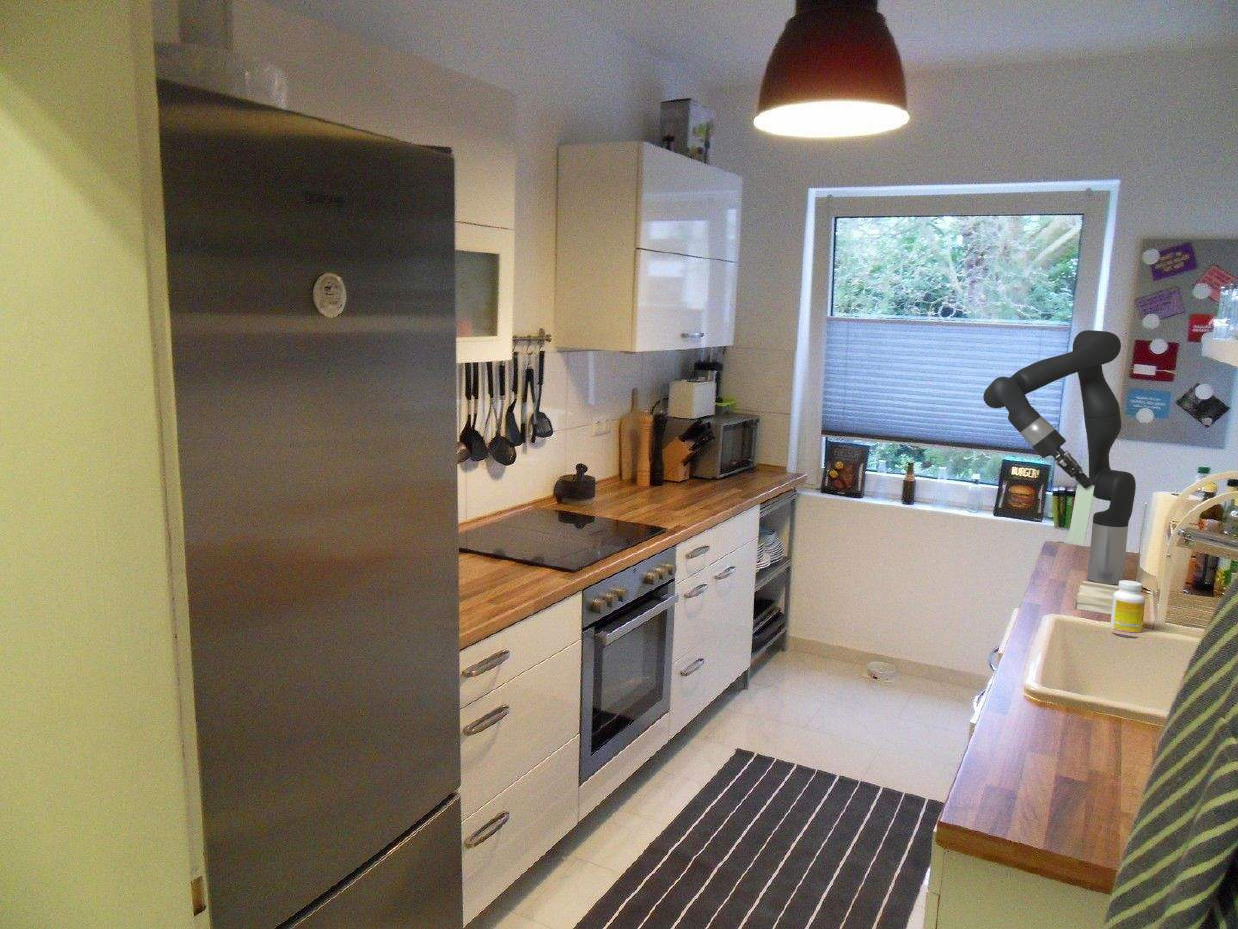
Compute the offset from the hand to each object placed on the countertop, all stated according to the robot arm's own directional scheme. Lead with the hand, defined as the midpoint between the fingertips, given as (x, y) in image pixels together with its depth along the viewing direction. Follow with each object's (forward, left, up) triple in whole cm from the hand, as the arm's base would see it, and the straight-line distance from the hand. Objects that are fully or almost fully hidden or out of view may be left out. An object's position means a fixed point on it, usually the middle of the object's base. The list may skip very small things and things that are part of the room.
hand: (1088, 485), depth 232 cm
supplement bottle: (+26, +12, -32) cm, 43 cm away
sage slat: (0, -2, -16) cm, 16 cm away
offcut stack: (+12, +5, -30) cm, 33 cm away
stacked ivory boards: (+7, +5, -32) cm, 33 cm away
